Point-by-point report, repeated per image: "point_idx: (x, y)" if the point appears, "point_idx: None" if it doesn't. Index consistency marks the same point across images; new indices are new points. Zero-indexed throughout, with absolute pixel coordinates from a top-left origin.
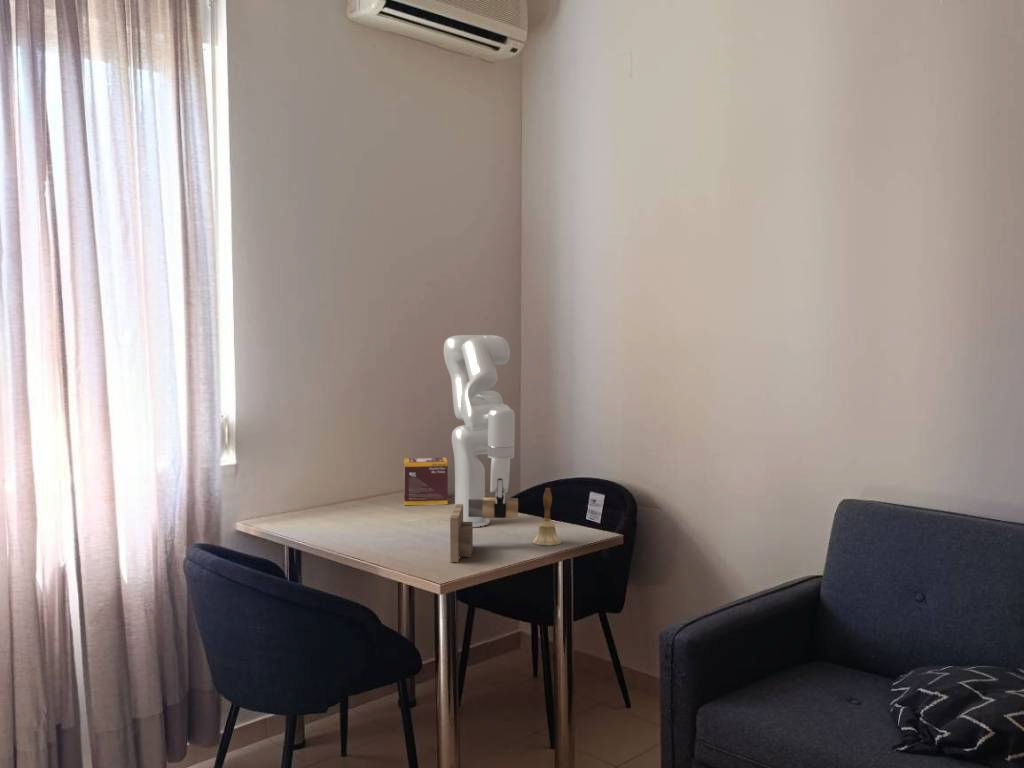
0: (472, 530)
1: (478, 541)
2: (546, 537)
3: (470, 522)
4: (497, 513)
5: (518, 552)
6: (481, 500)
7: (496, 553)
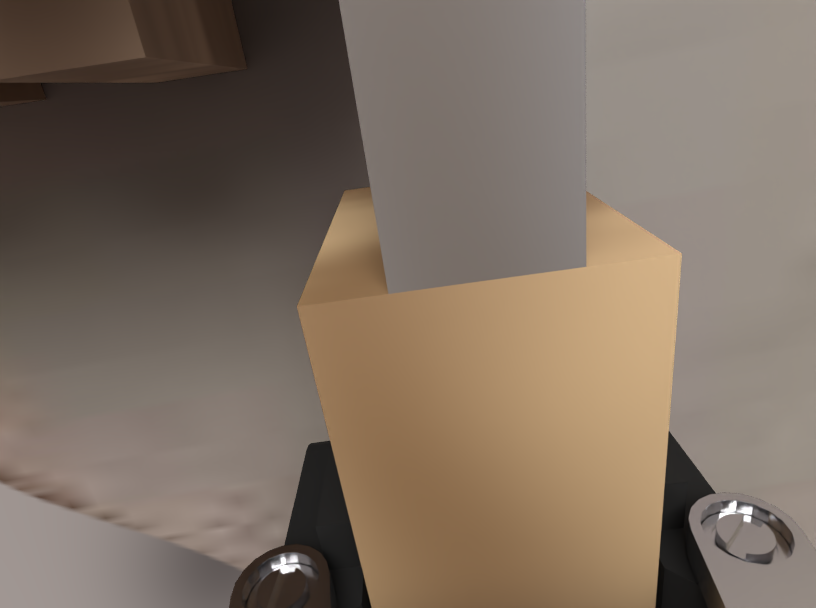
0: (159, 66)
1: (596, 51)
2: None
3: (74, 31)
4: (307, 453)
5: (265, 425)
6: (387, 248)
7: (190, 291)
